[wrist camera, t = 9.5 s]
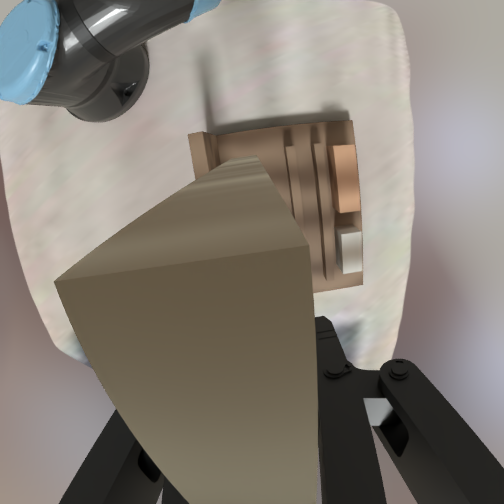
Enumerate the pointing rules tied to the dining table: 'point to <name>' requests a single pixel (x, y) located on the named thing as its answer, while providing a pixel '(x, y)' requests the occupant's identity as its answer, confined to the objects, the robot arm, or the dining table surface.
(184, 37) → the dining table surface
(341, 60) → the dining table surface
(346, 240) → the grey mdf offcut
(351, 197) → the cherry offcut
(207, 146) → the walnut rack
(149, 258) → the birch sheet
